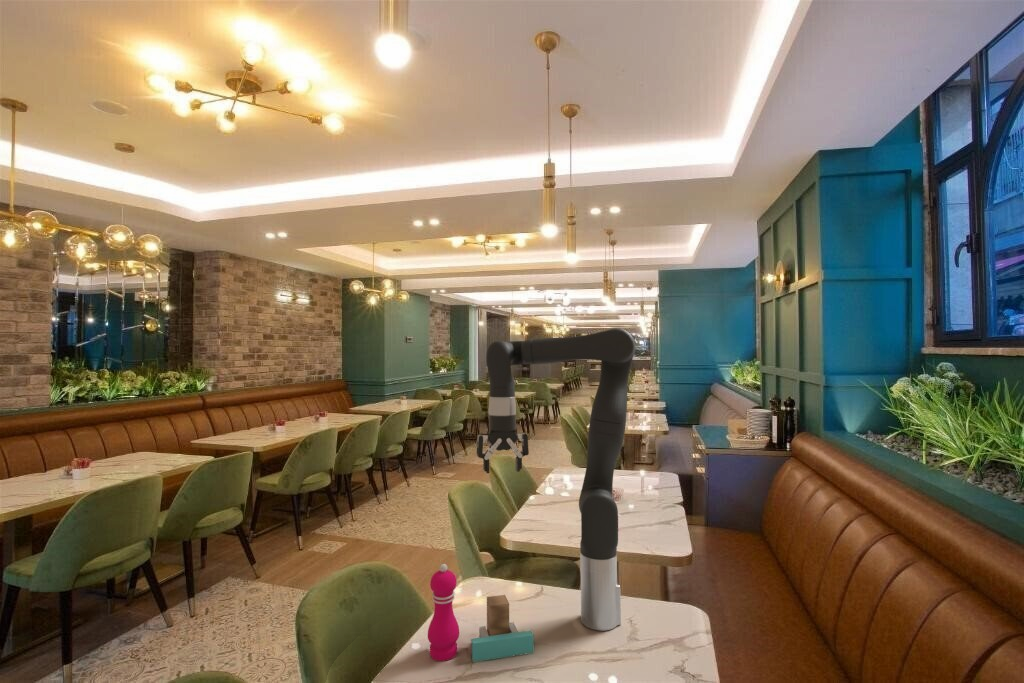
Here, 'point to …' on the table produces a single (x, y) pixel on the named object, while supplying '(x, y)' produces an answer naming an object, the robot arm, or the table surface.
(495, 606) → the peg
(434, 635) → the pepper mill
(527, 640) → the wall
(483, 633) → the frame
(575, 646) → the table surface
